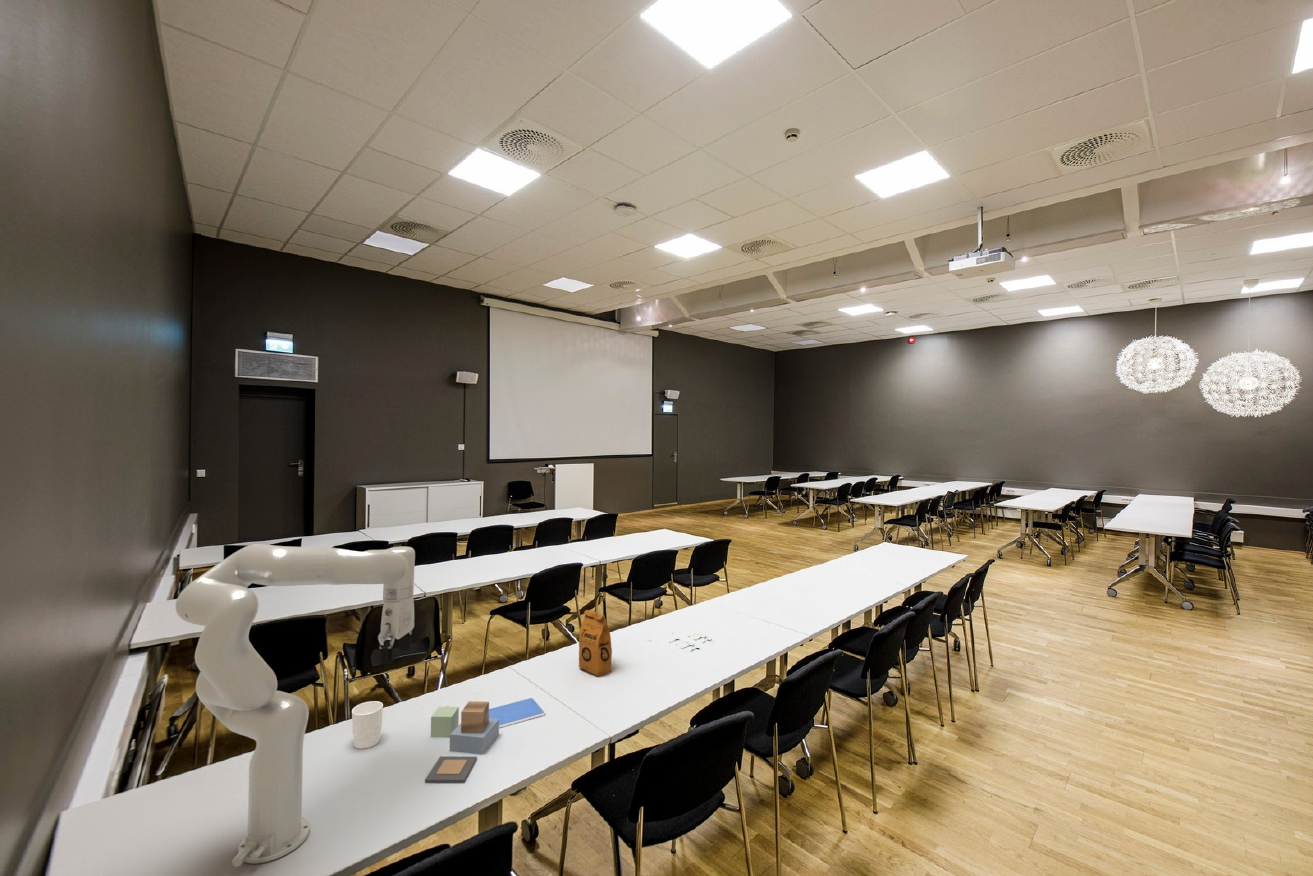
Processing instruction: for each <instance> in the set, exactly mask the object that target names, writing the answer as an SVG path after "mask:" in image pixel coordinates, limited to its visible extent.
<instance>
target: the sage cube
mask: <svg viewBox="0 0 1313 876" xmlns="http://www.w3.org/2000/svg"><path fill="white" fill-rule="evenodd" d="M459 711H460V707H459V706H438V707H437V708H436V709H435V711H434V712H433V714H432V715H431V716H430V738H450V734H451V733H452V732H453V731H454V730H455V729H456V728H457V727H458V725H459V719H460V718H459V717H460V716H459V715H460V713H459Z"/></svg>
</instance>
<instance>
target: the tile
mask: <svg viewBox="0 0 1313 876" xmlns="http://www.w3.org/2000/svg"><path fill="white" fill-rule="evenodd" d="M477 760H478V756H462V755H461V756H459V755H457V756H453V755H451V756H450V755H448V756H442V755H441V756H439V758H438V759H437V760H436V762H435V764H434V765H433V766H432V768H431V770H430V771H429V773H428V774H427V776H426V777H425V779H424V783H426V784H429V783H430V784H431V783H432V784H434V783H435V784H439V783H441V784H464V783H465V782H466V781H467V778H468V777H469V775H470V773H471V771H472V769H473V768H474V765H475V763H476V762H477Z"/></svg>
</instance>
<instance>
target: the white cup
mask: <svg viewBox="0 0 1313 876" xmlns="http://www.w3.org/2000/svg"><path fill="white" fill-rule="evenodd" d="M383 710H384V704H383V702H381V701H378V700H377V701H375V700H374V701H372V700H370V701H365V702H362V703H358V704H357V705H356V706H354V707H353V708H352V709H351V719H352V720H351V723H352V726H351V727H352V737H353V747H354V748H355V749H359V750H363V749H369V748H372V747H374V746H376V745H378V743H379V742H380V741H381V732H382V725H383V712H384V711H383Z"/></svg>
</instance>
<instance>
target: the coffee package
mask: <svg viewBox="0 0 1313 876" xmlns="http://www.w3.org/2000/svg"><path fill="white" fill-rule="evenodd" d="M583 614H584V618H583V620H582V622H581V623H582V624H581V626H580V629H579V631H578V633H579V634H578V639H579V640H578V648H579V649H578V668H580V669H582V670H584V671H587V672H588V673H589V674H591V675H593V676H597V677H598V678H599V677H601V676H604V675H607V674H610V673H612V656H613V651H612V650H613V649H612V638H611V633H610V632H611V631H610V629H609V628H610V627H609V626H608V621H607V619H606V617H605V615H603V614H601V613H600V612H599V613H598V612H596V611H592V610H588V609H586V610H584V612H583ZM606 673H607V674H606Z"/></svg>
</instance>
